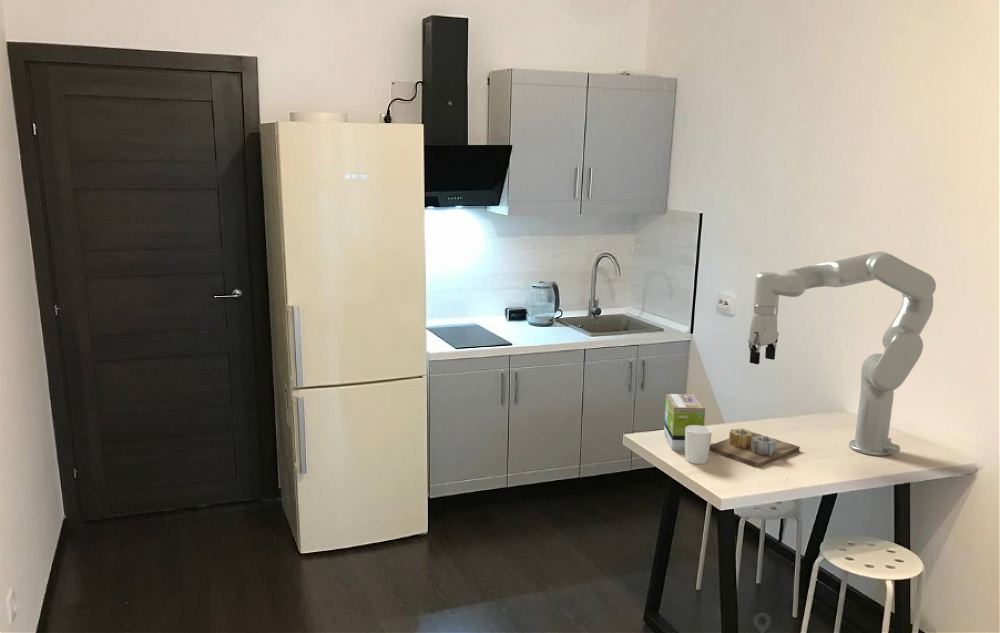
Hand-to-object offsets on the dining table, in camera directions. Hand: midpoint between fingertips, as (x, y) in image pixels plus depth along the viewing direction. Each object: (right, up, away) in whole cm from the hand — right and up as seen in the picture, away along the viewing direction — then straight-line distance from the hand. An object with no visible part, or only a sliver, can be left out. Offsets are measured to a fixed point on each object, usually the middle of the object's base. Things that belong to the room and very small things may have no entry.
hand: (762, 361), depth 249 cm
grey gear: (-4, -28, -13) cm, 31 cm away
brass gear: (-9, -26, -7) cm, 29 cm away
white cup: (-26, -30, -17) cm, 43 cm away
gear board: (-6, -28, -8) cm, 30 cm away
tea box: (-27, -27, -2) cm, 38 cm away
